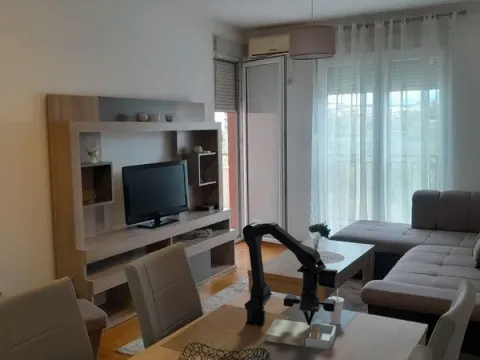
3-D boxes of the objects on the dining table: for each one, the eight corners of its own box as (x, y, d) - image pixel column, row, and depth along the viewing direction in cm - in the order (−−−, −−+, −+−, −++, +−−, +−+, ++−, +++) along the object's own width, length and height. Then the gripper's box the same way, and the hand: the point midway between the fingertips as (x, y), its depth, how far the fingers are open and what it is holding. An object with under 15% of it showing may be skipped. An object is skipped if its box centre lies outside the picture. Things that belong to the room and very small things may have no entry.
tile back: (314, 323, 183) (321, 324, 182) (315, 318, 187) (322, 319, 187) (314, 335, 184) (321, 336, 183) (315, 330, 188) (322, 331, 187)
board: (265, 340, 180) (265, 334, 180) (275, 325, 194) (275, 318, 194) (303, 346, 176) (303, 339, 176) (310, 329, 190) (311, 323, 190)
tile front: (310, 331, 176) (317, 332, 175) (312, 326, 180) (319, 327, 179) (310, 343, 176) (317, 344, 176) (312, 338, 181) (319, 339, 180)
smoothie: (343, 326, 193) (344, 291, 192) (326, 325, 195) (327, 290, 193) (343, 320, 200) (344, 286, 198) (327, 318, 201) (328, 285, 199)
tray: (305, 346, 176) (305, 338, 175) (312, 329, 190) (312, 322, 190) (330, 350, 173) (331, 342, 173) (336, 333, 187) (336, 325, 187)
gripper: (280, 288, 179) (279, 330, 181) (332, 294, 174) (331, 337, 175) (287, 279, 190) (286, 318, 192) (336, 284, 184) (335, 325, 186)
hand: (309, 324), depth 186 cm, fingers closed
